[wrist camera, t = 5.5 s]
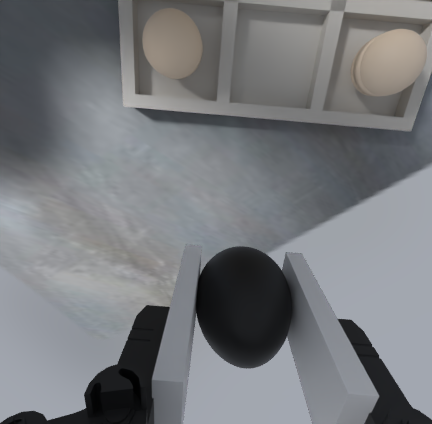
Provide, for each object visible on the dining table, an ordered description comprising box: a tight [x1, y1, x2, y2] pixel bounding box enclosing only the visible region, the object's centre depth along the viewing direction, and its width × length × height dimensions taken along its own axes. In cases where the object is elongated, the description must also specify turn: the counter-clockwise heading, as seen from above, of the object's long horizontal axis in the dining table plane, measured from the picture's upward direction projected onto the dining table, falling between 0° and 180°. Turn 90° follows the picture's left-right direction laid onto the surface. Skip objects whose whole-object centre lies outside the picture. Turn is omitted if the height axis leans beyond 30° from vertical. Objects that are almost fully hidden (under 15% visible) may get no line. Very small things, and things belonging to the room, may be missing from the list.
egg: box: [196, 246, 292, 368], centre depth 11 cm, size 4×4×5 cm
